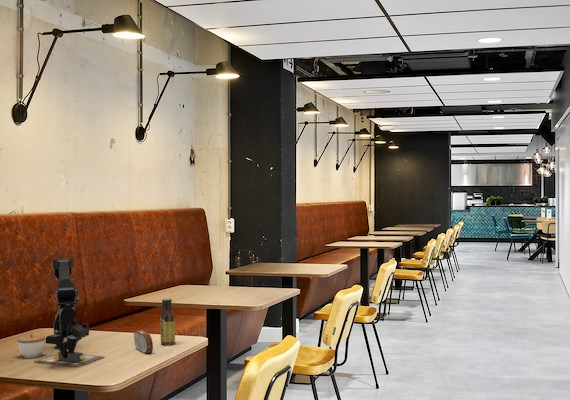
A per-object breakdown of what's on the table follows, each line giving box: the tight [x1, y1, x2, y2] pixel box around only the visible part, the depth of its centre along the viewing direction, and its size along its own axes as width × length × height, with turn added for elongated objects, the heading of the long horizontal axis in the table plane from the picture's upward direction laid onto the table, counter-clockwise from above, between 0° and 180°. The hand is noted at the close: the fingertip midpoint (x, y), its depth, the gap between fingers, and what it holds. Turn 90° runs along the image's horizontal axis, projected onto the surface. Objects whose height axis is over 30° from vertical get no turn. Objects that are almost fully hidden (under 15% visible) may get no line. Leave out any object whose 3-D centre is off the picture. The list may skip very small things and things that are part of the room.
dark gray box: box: [53, 349, 86, 362], centre depth 291 cm, size 14×3×3 cm, turn 64°
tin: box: [133, 329, 154, 354], centre depth 309 cm, size 15×3×8 cm, turn 32°
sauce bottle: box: [159, 297, 176, 346], centre depth 322 cm, size 6×6×20 cm
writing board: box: [33, 353, 105, 368], centre depth 297 cm, size 22×16×1 cm
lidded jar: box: [17, 333, 46, 359], centre depth 305 cm, size 11×11×9 cm
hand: (68, 357), depth 292 cm, fingers closed on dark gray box, 3 cm apart
